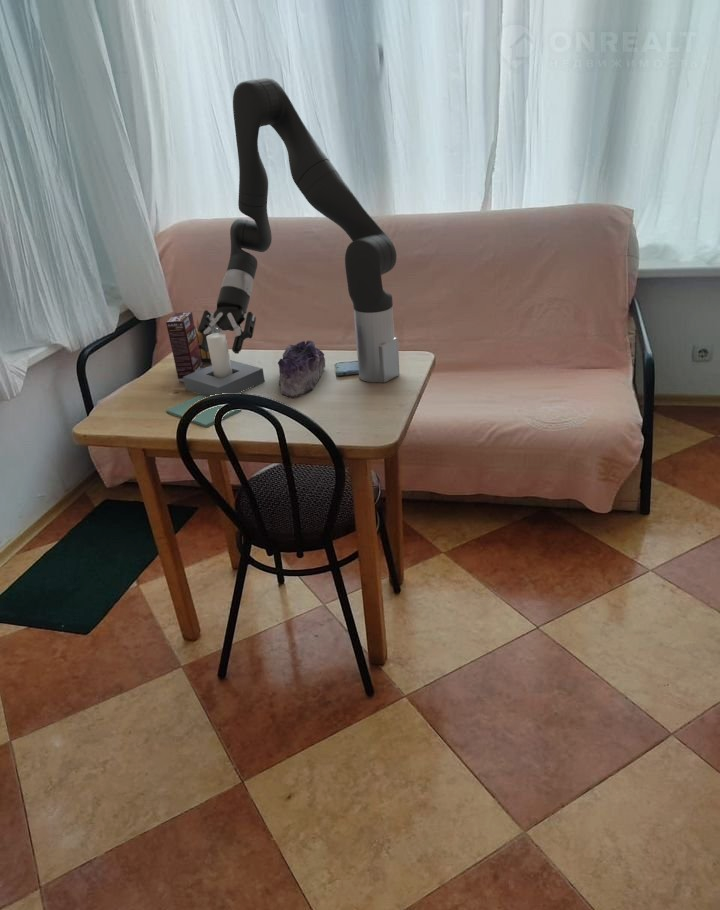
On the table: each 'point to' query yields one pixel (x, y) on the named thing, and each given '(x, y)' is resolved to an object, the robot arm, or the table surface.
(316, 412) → the table surface
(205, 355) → the ammunition clip
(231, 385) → the grey square socket block
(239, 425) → the table surface
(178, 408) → the mat
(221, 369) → the plug
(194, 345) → the supplement box
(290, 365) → the geode
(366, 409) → the table surface
